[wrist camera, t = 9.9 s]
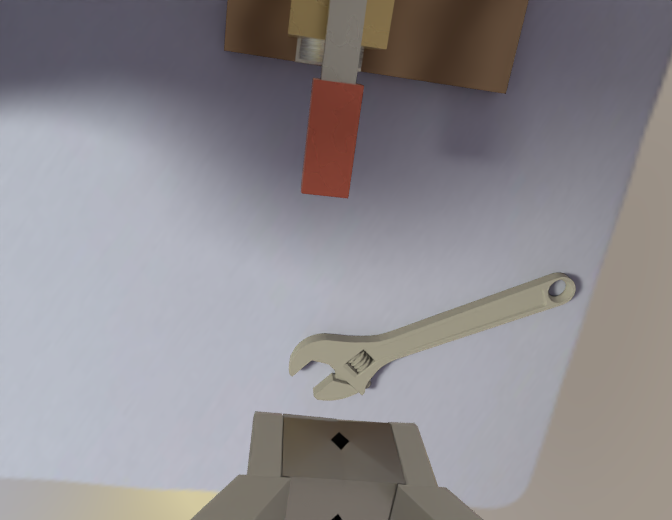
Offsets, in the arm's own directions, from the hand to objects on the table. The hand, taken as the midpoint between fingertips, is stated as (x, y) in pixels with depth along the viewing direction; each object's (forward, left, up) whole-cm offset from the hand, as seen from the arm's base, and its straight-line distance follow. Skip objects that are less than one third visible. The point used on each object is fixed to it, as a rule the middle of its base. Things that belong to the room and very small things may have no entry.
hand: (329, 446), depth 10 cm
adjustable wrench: (+13, -15, -34) cm, 39 cm away
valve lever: (+1, +6, -23) cm, 23 cm away
